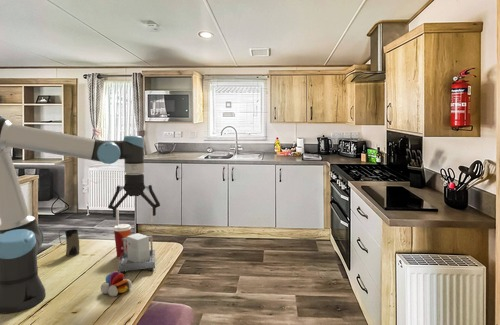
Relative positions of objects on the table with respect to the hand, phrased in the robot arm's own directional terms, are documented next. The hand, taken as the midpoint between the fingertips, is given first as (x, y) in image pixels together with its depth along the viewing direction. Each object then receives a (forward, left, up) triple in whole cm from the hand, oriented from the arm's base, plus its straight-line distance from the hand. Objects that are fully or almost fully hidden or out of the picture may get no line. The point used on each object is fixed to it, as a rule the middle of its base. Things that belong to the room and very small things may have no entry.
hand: (135, 224), depth 141 cm
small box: (+1, 0, -16) cm, 16 cm away
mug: (-31, +22, -19) cm, 42 cm away
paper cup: (-7, +14, -19) cm, 24 cm away
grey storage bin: (0, 0, -18) cm, 18 cm away
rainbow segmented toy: (-6, -21, -19) cm, 29 cm away
